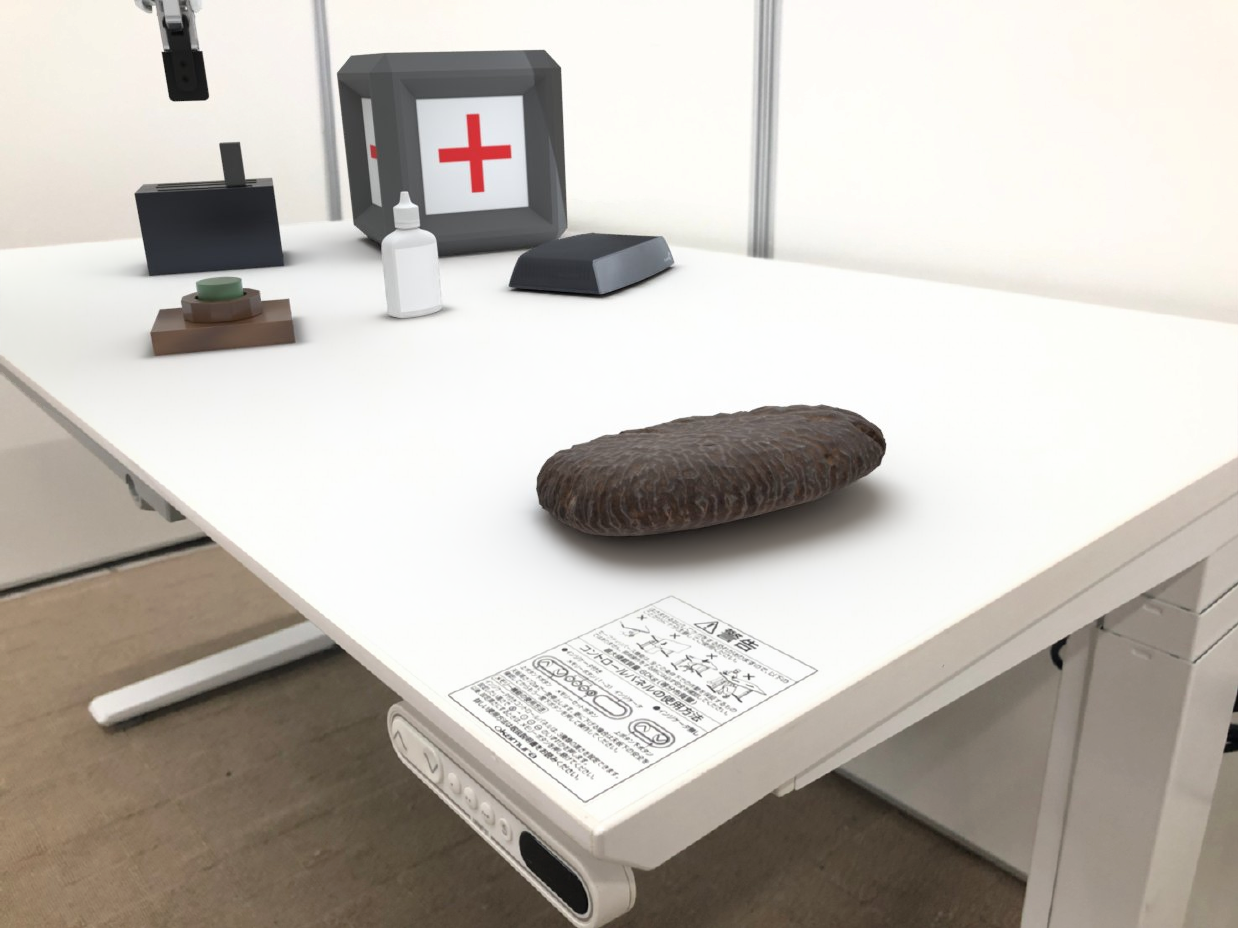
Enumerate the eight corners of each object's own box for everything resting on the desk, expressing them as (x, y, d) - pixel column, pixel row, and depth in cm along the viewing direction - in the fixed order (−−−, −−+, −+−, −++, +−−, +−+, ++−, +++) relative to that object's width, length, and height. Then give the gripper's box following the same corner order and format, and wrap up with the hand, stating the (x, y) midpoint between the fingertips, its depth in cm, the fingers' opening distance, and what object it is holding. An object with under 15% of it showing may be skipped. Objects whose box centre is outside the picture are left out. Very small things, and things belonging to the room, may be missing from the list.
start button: (197, 305, 96) (194, 286, 95) (199, 297, 99) (196, 278, 99) (244, 301, 97) (241, 282, 96) (244, 293, 100) (241, 275, 100)
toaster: (149, 276, 130) (133, 192, 126) (156, 262, 140) (142, 183, 136) (284, 266, 134) (273, 184, 131) (282, 253, 144) (272, 176, 141)
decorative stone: (756, 435, 70) (758, 361, 68) (925, 501, 59) (933, 416, 57) (497, 505, 60) (491, 421, 58) (643, 601, 49) (641, 501, 47)
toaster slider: (225, 186, 130) (219, 143, 128) (225, 184, 132) (219, 142, 130) (245, 184, 130) (239, 142, 129) (246, 183, 132) (240, 141, 130)
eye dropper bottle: (446, 315, 106) (436, 192, 101) (389, 320, 104) (376, 196, 100) (440, 306, 110) (430, 188, 105) (385, 311, 108) (372, 191, 104)
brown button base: (154, 356, 93) (146, 312, 92) (163, 331, 102) (155, 290, 101) (295, 343, 96) (289, 300, 95) (292, 320, 105) (286, 280, 104)
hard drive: (680, 267, 127) (680, 233, 126) (607, 299, 111) (606, 260, 110) (585, 261, 133) (584, 228, 131) (502, 290, 117) (499, 253, 115)
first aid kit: (352, 238, 155) (331, 56, 146) (512, 224, 165) (502, 52, 156) (392, 263, 134) (371, 52, 125) (574, 246, 144) (566, 49, 135)
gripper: (112, -126, 91) (151, 100, 97) (88, -159, 78) (134, 105, 84) (205, -123, 93) (236, 97, 99) (196, -156, 80) (233, 101, 86)
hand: (189, 100), depth 92 cm, fingers closed
